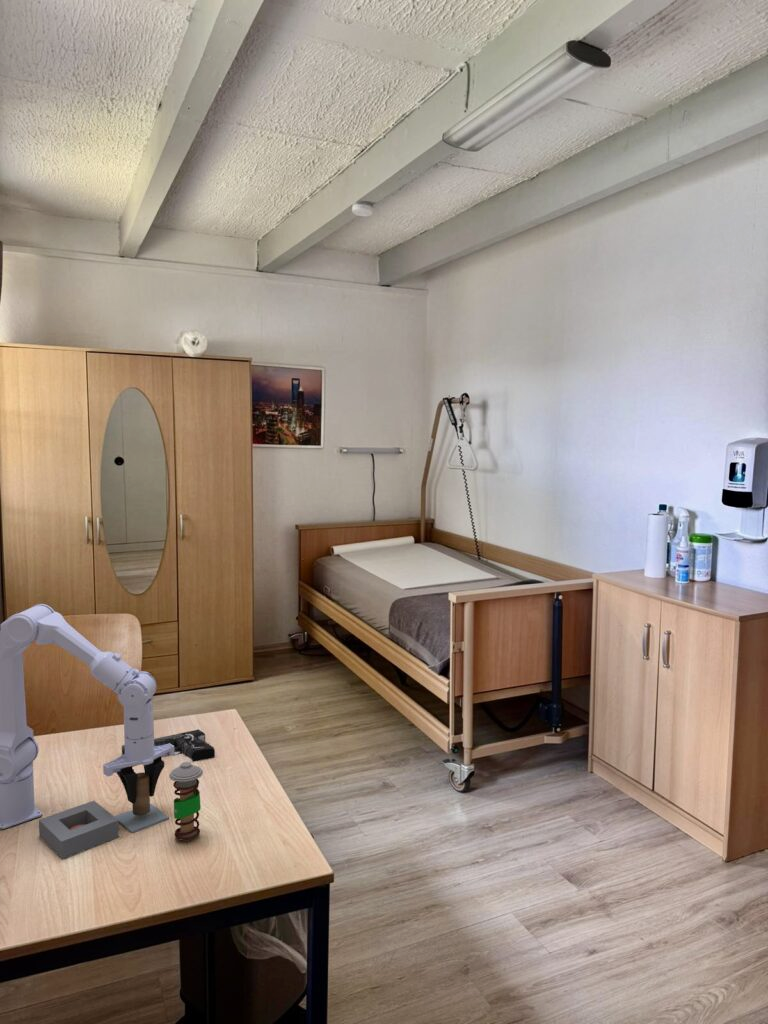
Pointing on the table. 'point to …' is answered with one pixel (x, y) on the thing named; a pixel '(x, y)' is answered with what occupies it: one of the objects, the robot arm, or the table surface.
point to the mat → (141, 819)
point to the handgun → (187, 744)
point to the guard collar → (78, 829)
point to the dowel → (142, 795)
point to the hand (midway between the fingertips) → (140, 798)
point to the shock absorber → (186, 800)
